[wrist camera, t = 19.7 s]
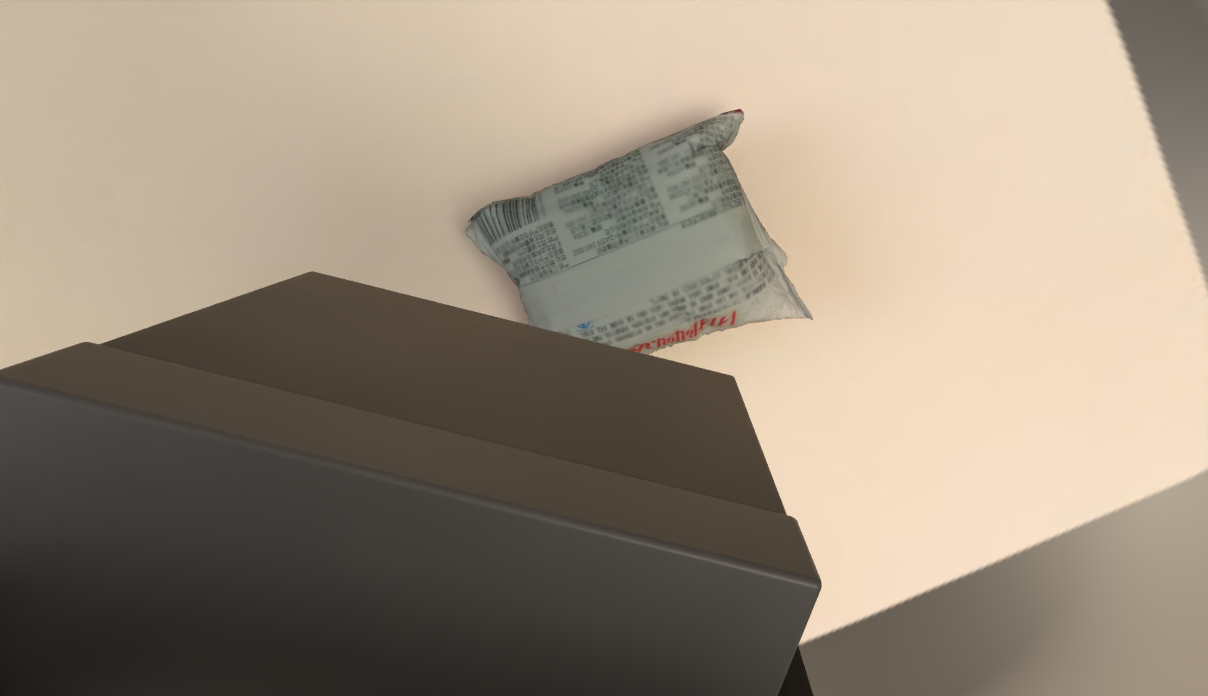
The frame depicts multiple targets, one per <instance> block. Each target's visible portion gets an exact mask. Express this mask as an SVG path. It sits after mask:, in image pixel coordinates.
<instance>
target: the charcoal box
mask: <svg viewBox="0 0 1208 696" xmlns="http://www.w3.org/2000/svg"><path fill="white" fill-rule="evenodd" d="M821 587H822V585H821V579H820V577H819V574H818V572H817V569H816V567H815V564H814V562H813V559H812V557H811V555H810V552H809V550H808V547H807V545H806V542H805V540H804V537H803V535H802V532H801V530H800V527H799V525H798V522H797V520H796V519H795V518H793V517H791V516H788V515H787V514H786V512H785V509H784V506H783V504H782V501H781V498H780V496H779V493H778V491H777V488H776V485H775V483H774V480H773V478H772V475H771V472H770V470H769V467H768V464H767V462H766V459H765V457H764V454H763V451H762V449H761V446H760V443H759V441H758V438H757V436H756V433H755V430H754V428H753V425H752V423H751V420H750V417H749V415H748V412H747V409H746V407H745V404H744V402H743V399H742V396H741V394H740V391H739V389H738V386H737V383H736V381H735V378H734V377H733V376H730V375H726V374H722V373H718V372H714V371H710V370H706V369H702V368H698V367H694V366H690V365H686V364H682V363H678V362H674V361H670V360H666V359H662V358H658V357H654V356H650V355H646V354H642V353H638V352H634V351H630V350H626V349H622V348H618V347H614V346H610V345H606V344H602V343H598V342H594V341H590V340H586V339H582V338H578V337H574V336H570V335H566V334H562V333H558V332H554V331H550V330H546V329H542V328H538V327H534V326H530V325H526V324H522V323H518V322H514V321H510V320H506V319H502V318H498V317H494V316H490V315H486V314H482V313H478V312H474V311H470V310H465V309H461V308H457V307H453V306H449V305H445V304H441V303H437V302H433V301H429V300H425V299H421V298H417V297H413V296H409V295H405V294H401V293H397V292H393V291H389V290H385V289H381V288H377V287H373V286H369V285H365V284H361V283H357V282H353V281H349V280H345V279H341V278H337V277H333V276H329V275H325V274H321V273H317V272H313V271H311V272H308V273H305V274H302V275H299V276H296V277H293V278H290V279H287V280H285V281H282V282H279V283H276V284H273V285H270V286H267V287H264V288H261V289H258V290H256V291H253V292H250V293H247V294H244V295H241V296H238V297H235V298H232V299H229V300H227V301H224V302H221V303H218V304H215V305H212V306H209V307H206V308H203V309H201V310H198V311H195V312H192V313H189V314H186V315H183V316H180V317H177V318H174V319H172V320H169V321H166V322H163V323H160V324H157V325H154V326H151V327H148V328H146V329H143V330H140V331H137V332H134V333H131V334H128V335H125V336H122V337H119V338H117V339H114V340H111V341H108V342H105V343H102V344H95V343H90V342H83V343H79V344H76V345H73V346H70V347H67V348H64V349H61V350H58V351H55V352H52V353H49V354H46V355H43V356H40V357H37V358H34V359H31V360H28V361H25V362H22V363H19V364H16V365H13V366H10V367H7V368H4V369H1V370H0V696H778V693H779V691H780V689H781V686H782V684H783V681H784V679H785V676H786V674H787V671H788V669H789V666H790V664H791V661H792V659H793V657H794V654H795V652H796V649H797V647H798V644H799V642H800V639H801V637H802V634H803V632H804V629H805V627H806V625H807V622H808V620H809V617H810V615H811V612H812V610H813V607H814V605H815V602H816V600H817V597H818V595H819V592H820V590H821Z"/></svg>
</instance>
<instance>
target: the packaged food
mask: <svg viewBox="0 0 1208 696" xmlns="http://www.w3.org/2000/svg"><path fill="white" fill-rule="evenodd" d="M743 120H744V113H743V111H742V110H741V109H738V110H734V111H729V112H725V113H722V114H720V115H718V116H716V117H713V118H710V119H708V120H706V121H703V122H701V123H698V124H696V125H694V126H691V127H689V128H686V129H684V130H682V131H680V132H677V133H675V134H673V135H670V136H668V137H665V138H663V139H660V140H657V141H655V142H652V143H649V144H647V145H644V146H642V147H640V148H638V149H636V150H634V151H632V152H630V153H628V154H626V155H624V156H622V157H620V158H616V159H613V160H611V161H609V162H607V163H605V164H603V165H600V166H599V167H597V168H596V169H594V170H592V171H589V172H586V173H583V174H580V175H578V176H575V177H572V178H570V179H568V180H565V181H563V182H561V183H558V184H553V185H552V186H550V187H547V188H545V189H543V190H541V191H539V192H535V193H533V194H532V195H531V196H529V197H519V198H513V199H507V200H501V201H495V202H492V203H491V204H489V205H487V206H485V207H484V208H482V209H480V210H479V211H478V212H477V213H476V214H475V215H474V216H473V217H472V218H471V219H470V220H469V222H471V224H470V226H468V227H467V228H466V235H467V236H468V237H469V238H470V239H471V240H472V241H473V242H474V243H475V245H476V246H477V247H478V248H479V249H480V250H481V252H482V253H483V254H485V255H487V256H489V257H490V258H491V259H492V260H494V261H495V262H496V263H498V264H499V265H501V266H502V267H503V268H504V269H505V270H506V271H507V273H508V275H509V277H510V278H511V279H512V280H513V281H514V283H515V284H517V286H518V288H519V290H520V296H521V301H522V302H523V304H524V307H525V310H526V312H527V315H528V324H529V325H530V326H534V327H538V328H542V329H546V330H550V331H554V332H558V333H562V334H566V335H570V336H574V337H578V338H582V339H586V340H590V341H594V342H598V343H602V344H606V345H610V346H614V347H618V348H622V349H626V350H630V351H634V352H638V353H642V354H646V355H648V354H650V353H653V352H654V351H657V350H659V349H662V348H665V347H666V346H670V347H672V346H673V345H674V344H677V343H682V342H687V341H695V340H697V339H698V338H700V337H701V336H702V335H704V334H707V335H708V334H710V333H713V332H715V331H723V330H725V329H729V328H735V327H739V326H742V325H745V324H747V323H756V322H765V321H769V320H781V319H792V318H810V319H811V320H813V318H812V314H811V313H810V311H809V310H808V308H807V307H806V305H805V304H804V303H803V301H802V300H801V299H800V297H799V296H798V294H797V292H796V290H795V288H794V286H793V284H792V283H791V281H790V280H789V279H788V277H787V276H786V275H785V272H784V268H783V266H787V256H786V254H785V252H784V251H783V250H782V249H781V248H780V247H779V246H778V245H777V244H776V243H775V242H774V240H773V239H771V238H770V237H769V235H768V233H767V232H766V230H765V229H764V227H763V226H762V224H761V223H760V221H759V219H758V217H757V216H756V214H755V212H754V210H753V208H752V207H751V205H750V203H749V201H748V199H747V197H746V195H745V193H744V191H743V189H742V187H741V184H740V182H739V180H738V178H737V176H736V174H735V172H734V169H733V167H732V165H731V163H730V161H729V159H728V158H727V157H726V155H725V154H724V153H723V152H722V151H723V150H724V149H726V148H727V147H728V146H730V145H731V144H732V143H733V141H734V139H735V138H736V136H737V133H738V131H739V127H740V125H741V123H742V122H743ZM777 260H778V261H777ZM778 262H779V263H778Z"/></svg>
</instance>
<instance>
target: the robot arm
mask: <svg viewBox="0 0 1208 696" xmlns="http://www.w3.org/2000/svg"><path fill="white" fill-rule="evenodd" d="M778 696H813V694H812V690H811V687H810V683H809V680H808V677H807V674H806V670H805V667H804V664H803V660H802V657H801V654H800V650H799V647H797V649H796V652H795V654H794V657H793V659H792V661H791V664H790V666H789V669H788V671H787V674H786V676H785V679H784V681H783V684H782V686H781V689H780V691H779V693H778Z"/></svg>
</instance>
